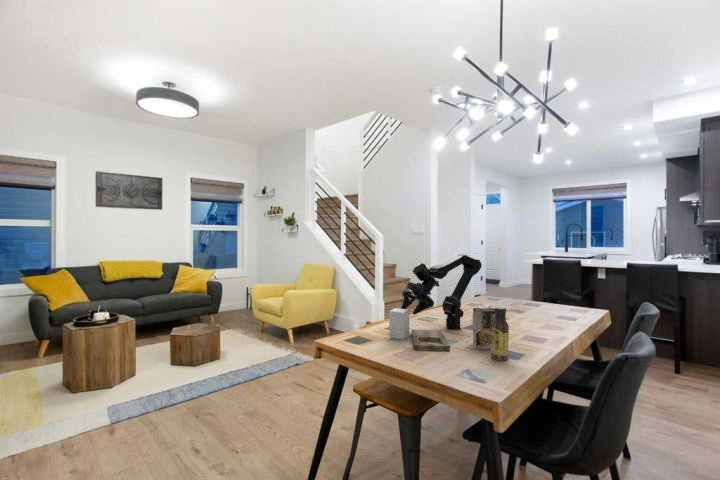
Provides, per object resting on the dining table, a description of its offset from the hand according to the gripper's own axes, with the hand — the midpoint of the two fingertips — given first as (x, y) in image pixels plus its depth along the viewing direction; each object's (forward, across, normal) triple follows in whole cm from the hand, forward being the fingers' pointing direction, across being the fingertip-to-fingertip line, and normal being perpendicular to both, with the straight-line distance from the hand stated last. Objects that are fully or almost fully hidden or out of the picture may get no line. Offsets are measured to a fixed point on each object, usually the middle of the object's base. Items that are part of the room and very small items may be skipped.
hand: (407, 312), depth 168 cm
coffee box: (-6, +29, +22) cm, 37 cm away
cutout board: (+6, +12, +10) cm, 17 cm away
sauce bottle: (-1, +42, +17) cm, 45 cm away
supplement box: (+11, 0, +5) cm, 12 cm away
